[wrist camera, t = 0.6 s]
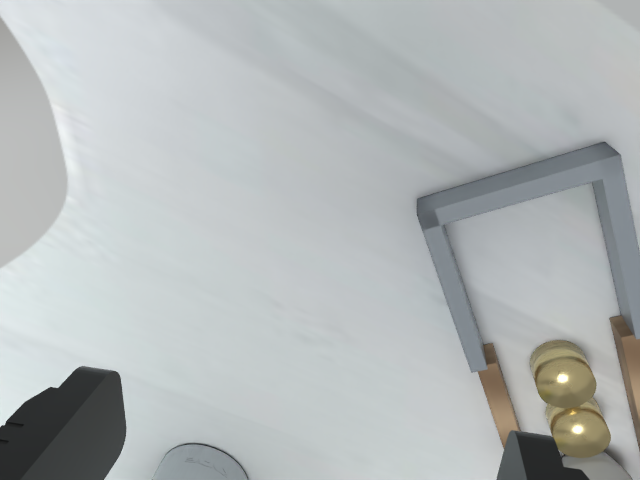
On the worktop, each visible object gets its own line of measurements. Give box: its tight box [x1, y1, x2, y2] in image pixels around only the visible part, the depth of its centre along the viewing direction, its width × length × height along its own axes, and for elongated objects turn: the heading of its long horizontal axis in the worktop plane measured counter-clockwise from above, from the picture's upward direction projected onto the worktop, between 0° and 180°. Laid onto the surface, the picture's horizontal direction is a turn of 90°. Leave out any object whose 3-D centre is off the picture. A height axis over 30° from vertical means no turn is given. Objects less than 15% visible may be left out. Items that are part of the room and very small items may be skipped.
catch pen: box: [417, 142, 640, 373], centre depth 37 cm, size 13×12×3 cm
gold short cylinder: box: [546, 398, 611, 458], centre depth 42 cm, size 4×4×3 cm
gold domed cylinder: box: [530, 340, 596, 408], centre depth 40 cm, size 4×4×3 cm
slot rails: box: [478, 316, 640, 450], centre depth 42 cm, size 18×12×2 cm, turn 22°
